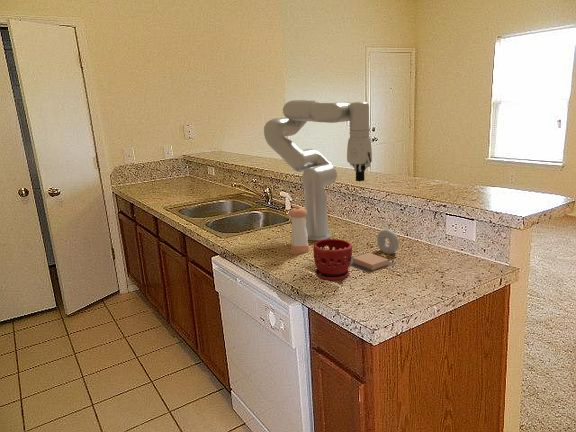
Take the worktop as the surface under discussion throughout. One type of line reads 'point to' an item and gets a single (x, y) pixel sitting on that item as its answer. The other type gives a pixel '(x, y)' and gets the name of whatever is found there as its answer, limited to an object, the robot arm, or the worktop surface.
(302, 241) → the pepper shaker
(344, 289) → the worktop surface
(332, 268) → the plant pot
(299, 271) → the worktop surface
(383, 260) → the tile
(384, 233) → the donut
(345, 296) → the worktop surface
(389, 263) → the mat
